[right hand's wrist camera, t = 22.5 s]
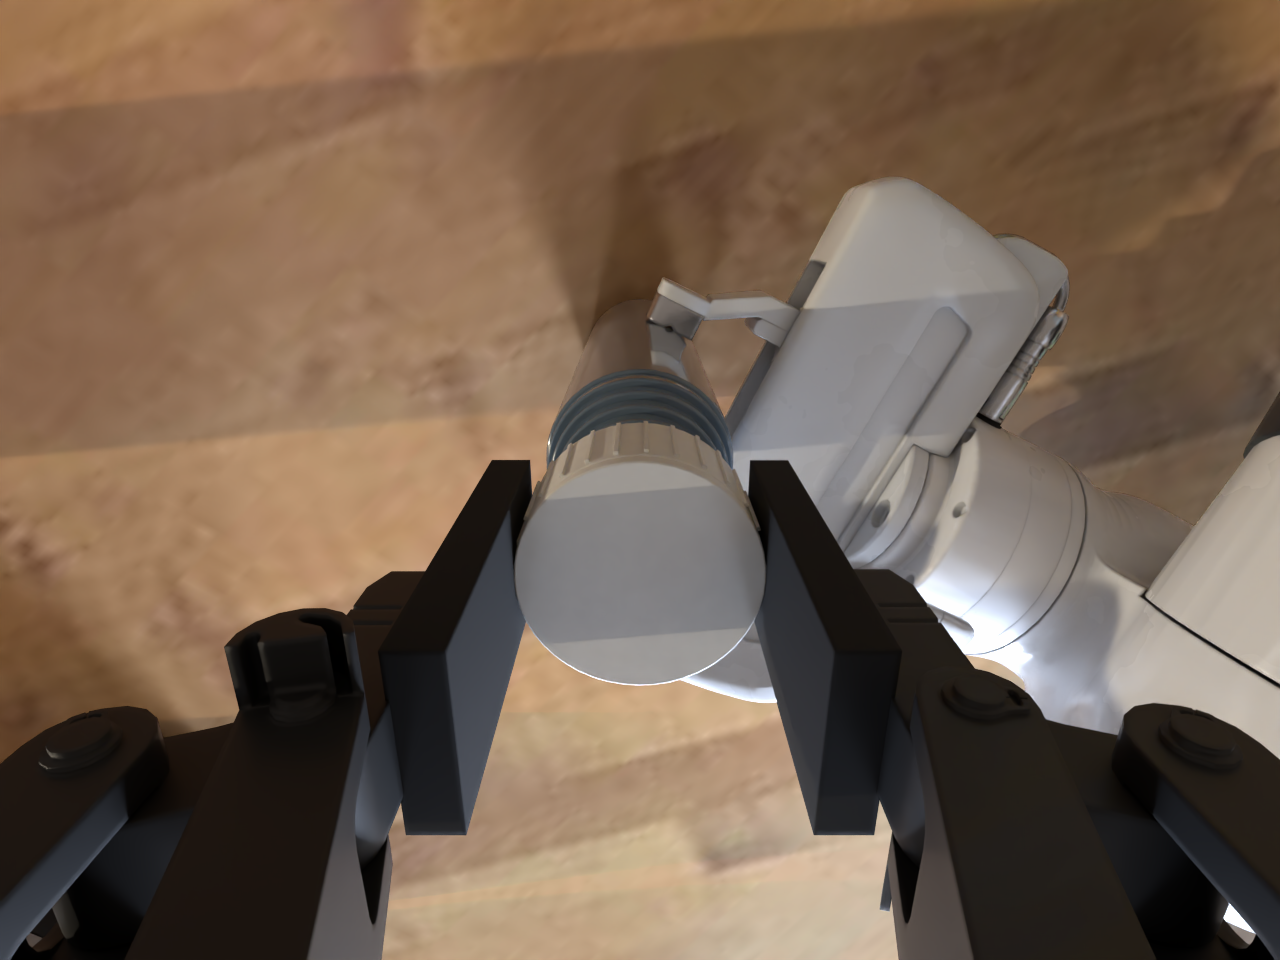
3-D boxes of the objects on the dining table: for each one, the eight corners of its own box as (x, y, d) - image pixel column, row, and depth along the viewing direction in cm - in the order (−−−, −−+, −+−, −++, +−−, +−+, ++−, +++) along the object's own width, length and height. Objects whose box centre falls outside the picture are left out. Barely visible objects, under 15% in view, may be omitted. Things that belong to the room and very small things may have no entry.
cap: (742, 405, 14) (761, 442, 11) (757, 608, 15) (777, 674, 13) (511, 433, 14) (487, 475, 12) (550, 631, 15) (535, 700, 13)
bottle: (651, 276, 31) (669, 380, 12) (713, 363, 32) (821, 585, 13) (566, 341, 32) (453, 536, 13) (629, 423, 33) (615, 712, 14)
